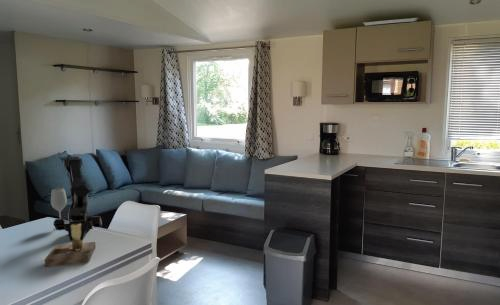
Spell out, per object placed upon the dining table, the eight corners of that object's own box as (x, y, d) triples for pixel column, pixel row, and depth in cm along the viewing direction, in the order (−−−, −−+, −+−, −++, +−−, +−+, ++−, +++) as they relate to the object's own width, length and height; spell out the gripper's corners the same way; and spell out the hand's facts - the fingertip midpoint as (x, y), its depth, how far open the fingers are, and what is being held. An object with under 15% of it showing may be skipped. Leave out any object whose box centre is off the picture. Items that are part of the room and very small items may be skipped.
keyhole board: (45, 266, 148) (44, 259, 148) (56, 251, 164) (55, 245, 163) (88, 262, 152) (88, 255, 152) (95, 248, 167) (95, 241, 167)
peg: (82, 252, 161) (80, 222, 160) (84, 256, 158) (82, 224, 156) (71, 255, 159) (69, 223, 157) (73, 258, 155) (71, 226, 154)
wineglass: (49, 228, 196) (46, 190, 193) (62, 224, 202) (60, 187, 200) (59, 230, 192) (55, 191, 190) (71, 226, 199) (69, 188, 196)
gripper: (52, 201, 157) (47, 234, 148) (99, 198, 161) (96, 230, 152) (59, 213, 166) (54, 246, 156) (103, 210, 170) (100, 241, 161)
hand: (76, 240), depth 156 cm, fingers closed on peg, 4 cm apart
